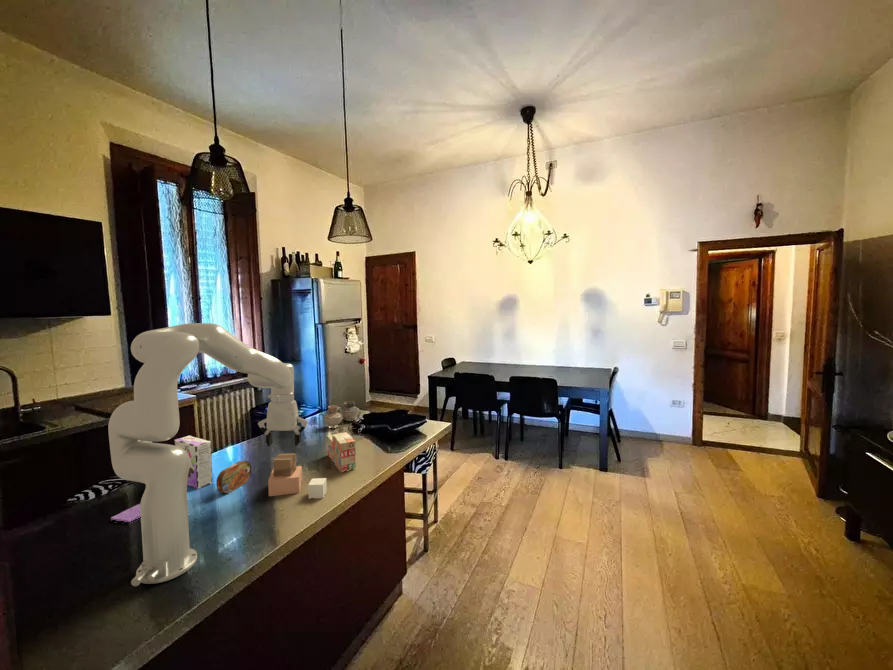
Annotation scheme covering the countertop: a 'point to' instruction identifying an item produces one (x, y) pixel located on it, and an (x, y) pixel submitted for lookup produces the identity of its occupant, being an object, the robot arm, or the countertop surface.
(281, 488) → the terracotta block
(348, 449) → the stack of blocks
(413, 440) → the countertop surface
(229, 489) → the tin
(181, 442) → the candy box
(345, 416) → the pottery
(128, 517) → the sponges
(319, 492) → the off-white cube
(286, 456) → the walnut cube
